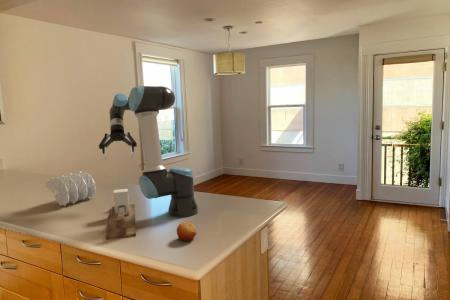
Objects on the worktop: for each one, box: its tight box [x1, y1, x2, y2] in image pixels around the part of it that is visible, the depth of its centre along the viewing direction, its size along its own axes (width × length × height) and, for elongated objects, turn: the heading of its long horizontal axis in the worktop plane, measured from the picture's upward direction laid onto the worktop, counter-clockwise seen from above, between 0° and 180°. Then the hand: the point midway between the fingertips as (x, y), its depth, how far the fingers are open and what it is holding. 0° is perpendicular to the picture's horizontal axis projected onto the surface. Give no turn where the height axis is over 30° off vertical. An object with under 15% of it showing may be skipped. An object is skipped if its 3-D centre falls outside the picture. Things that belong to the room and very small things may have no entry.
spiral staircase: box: [44, 170, 97, 207], centre depth 200 cm, size 18×18×25 cm
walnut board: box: [105, 203, 137, 241], centre depth 164 cm, size 12×46×8 cm, turn 15°
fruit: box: [176, 221, 197, 242], centre depth 139 cm, size 8×8×8 cm
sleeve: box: [113, 188, 130, 216], centre depth 170 cm, size 7×6×12 cm
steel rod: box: [117, 205, 125, 219], centre depth 163 cm, size 3×42×3 cm, turn 16°
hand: (118, 157), depth 186 cm, fingers open, 13 cm apart
